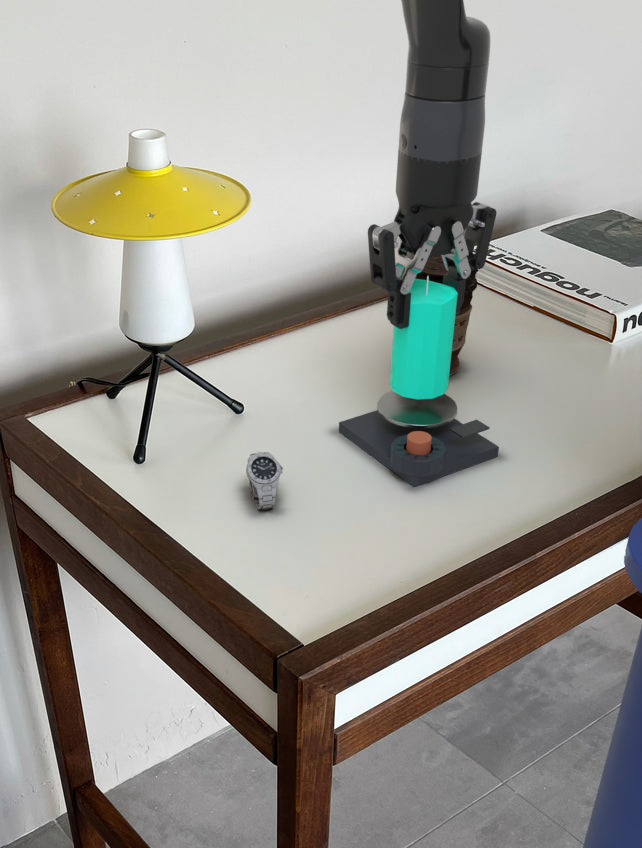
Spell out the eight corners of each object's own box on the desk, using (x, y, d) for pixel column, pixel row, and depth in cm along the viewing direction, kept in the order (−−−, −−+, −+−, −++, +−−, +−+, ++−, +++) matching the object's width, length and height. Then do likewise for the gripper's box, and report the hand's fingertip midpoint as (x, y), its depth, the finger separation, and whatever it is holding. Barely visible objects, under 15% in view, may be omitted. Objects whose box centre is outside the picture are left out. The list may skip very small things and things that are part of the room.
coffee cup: (485, 373, 120) (498, 268, 113) (430, 390, 117) (440, 283, 109) (437, 346, 126) (447, 245, 119) (384, 362, 123) (391, 259, 116)
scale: (502, 459, 104) (505, 434, 102) (411, 492, 99) (414, 466, 97) (418, 405, 114) (421, 381, 112) (332, 433, 109) (333, 408, 107)
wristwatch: (251, 517, 96) (250, 472, 93) (238, 483, 101) (237, 439, 98) (287, 513, 96) (287, 468, 94) (273, 478, 101) (273, 435, 99)
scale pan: (494, 427, 104) (494, 424, 103) (429, 449, 100) (430, 446, 100) (423, 383, 112) (423, 380, 111) (361, 403, 108) (361, 399, 108)
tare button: (435, 452, 100) (436, 438, 99) (416, 458, 99) (417, 445, 98) (420, 441, 102) (421, 428, 101) (401, 448, 101) (402, 434, 100)
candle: (379, 378, 107) (386, 269, 100) (430, 368, 109) (440, 261, 102) (406, 403, 102) (415, 291, 95) (458, 393, 104) (470, 282, 97)
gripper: (402, 167, 86) (390, 349, 95) (528, 143, 92) (504, 316, 102) (351, 147, 91) (344, 321, 101) (473, 126, 97) (455, 291, 107)
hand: (424, 318), depth 101 cm, fingers closed on candle, 6 cm apart
